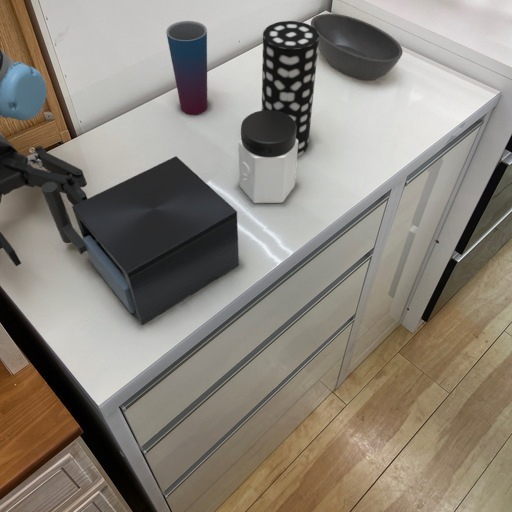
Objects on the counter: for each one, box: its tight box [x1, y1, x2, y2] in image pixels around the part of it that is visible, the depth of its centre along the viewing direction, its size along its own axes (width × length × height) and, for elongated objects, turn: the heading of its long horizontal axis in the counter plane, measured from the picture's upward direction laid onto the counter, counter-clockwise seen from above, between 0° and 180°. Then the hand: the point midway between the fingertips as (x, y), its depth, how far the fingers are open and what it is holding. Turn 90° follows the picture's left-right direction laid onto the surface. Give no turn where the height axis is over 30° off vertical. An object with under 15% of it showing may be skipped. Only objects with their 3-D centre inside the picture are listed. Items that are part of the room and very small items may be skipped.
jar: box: [238, 110, 298, 204], centre depth 82 cm, size 9×8×12 cm
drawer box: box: [71, 155, 240, 326], centre depth 72 cm, size 16×14×11 cm
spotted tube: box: [261, 20, 319, 157], centre depth 86 cm, size 8×8×20 cm
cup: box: [165, 20, 208, 116], centre depth 95 cm, size 7×7×15 cm
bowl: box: [310, 13, 404, 82], centre depth 108 cm, size 12×22×6 cm, turn 39°
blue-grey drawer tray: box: [40, 182, 135, 314], centre depth 72 cm, size 16×18×10 cm
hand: (54, 237), depth 70 cm, fingers open, 10 cm apart
